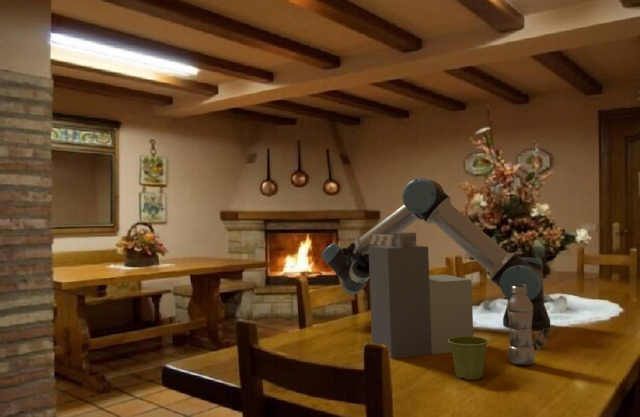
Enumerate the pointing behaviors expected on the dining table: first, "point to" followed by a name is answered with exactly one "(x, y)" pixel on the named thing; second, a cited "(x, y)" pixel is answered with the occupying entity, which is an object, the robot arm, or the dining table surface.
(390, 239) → the batten
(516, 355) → the plastic bottle
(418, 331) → the pedestal
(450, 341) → the plant pot
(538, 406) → the dining table surface
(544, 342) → the vase
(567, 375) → the dining table surface
